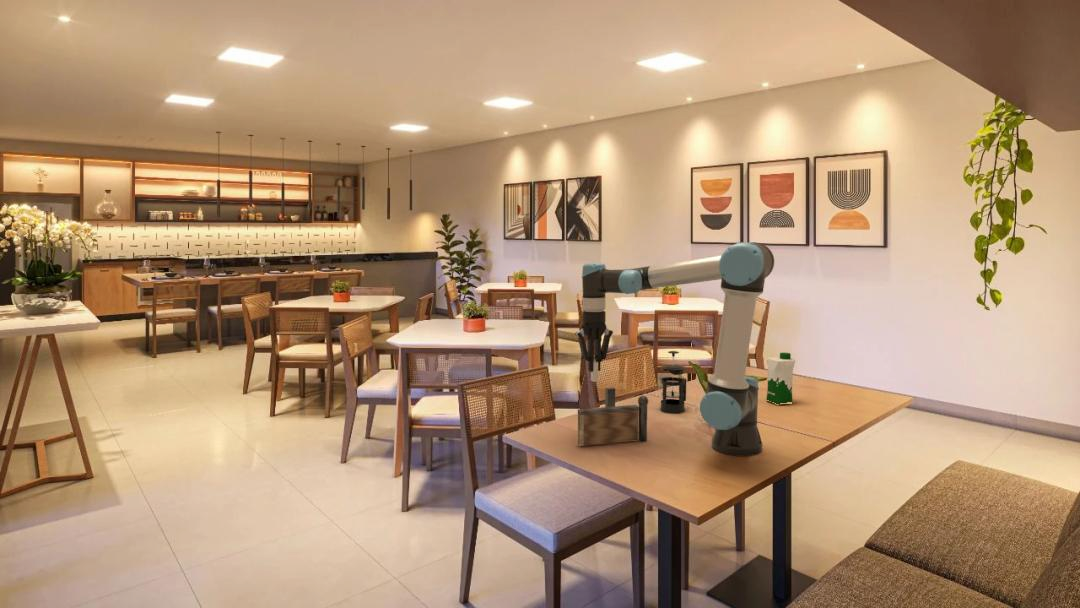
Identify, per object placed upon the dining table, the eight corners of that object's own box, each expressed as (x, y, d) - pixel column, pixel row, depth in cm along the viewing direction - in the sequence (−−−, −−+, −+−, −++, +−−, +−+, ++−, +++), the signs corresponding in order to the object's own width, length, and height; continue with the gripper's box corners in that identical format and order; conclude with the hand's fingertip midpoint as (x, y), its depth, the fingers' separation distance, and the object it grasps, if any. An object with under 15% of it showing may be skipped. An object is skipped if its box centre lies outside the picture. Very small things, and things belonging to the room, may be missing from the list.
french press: (671, 415, 232) (672, 354, 230) (653, 409, 240) (654, 351, 238) (693, 410, 239) (694, 351, 236) (675, 405, 247) (676, 347, 244)
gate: (635, 438, 204) (635, 404, 203) (638, 440, 202) (638, 406, 201) (577, 443, 199) (577, 409, 198) (580, 446, 197) (580, 411, 195)
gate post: (649, 441, 202) (650, 396, 201) (640, 442, 201) (641, 397, 200) (644, 438, 206) (645, 394, 204) (635, 439, 205) (635, 395, 203)
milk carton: (796, 404, 246) (797, 355, 244) (776, 406, 243) (778, 356, 241) (781, 399, 254) (782, 351, 252) (762, 401, 252) (764, 352, 250)
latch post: (615, 420, 226) (615, 388, 224) (607, 421, 225) (607, 389, 223) (612, 419, 227) (612, 387, 226) (605, 420, 226) (605, 388, 225)
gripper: (606, 308, 210) (607, 377, 212) (571, 310, 205) (572, 380, 208) (617, 310, 203) (617, 381, 205) (580, 312, 198) (580, 385, 201)
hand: (594, 380), depth 206 cm, fingers closed
